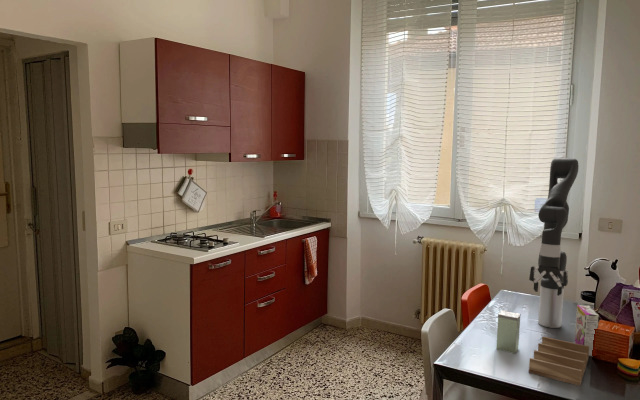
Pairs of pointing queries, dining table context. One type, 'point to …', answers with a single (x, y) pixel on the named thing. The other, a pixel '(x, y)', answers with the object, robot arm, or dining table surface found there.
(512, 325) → the tea tin
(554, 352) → the plate rack
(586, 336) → the candy bar box
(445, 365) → the dining table surface
